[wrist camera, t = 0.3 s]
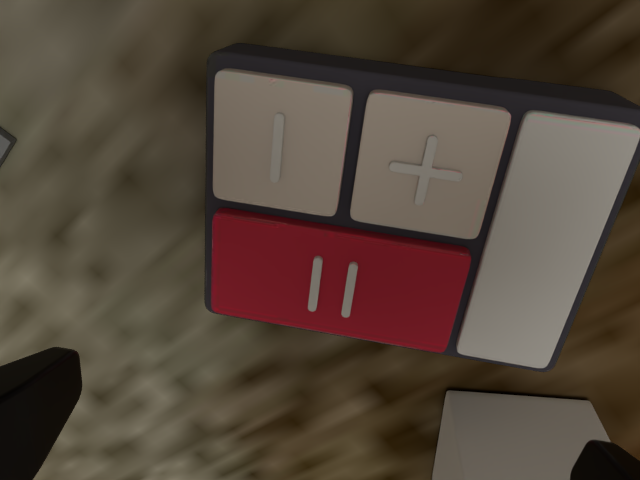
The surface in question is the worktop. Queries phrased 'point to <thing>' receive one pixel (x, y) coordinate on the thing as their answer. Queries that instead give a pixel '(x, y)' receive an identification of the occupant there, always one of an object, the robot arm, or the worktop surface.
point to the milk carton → (512, 436)
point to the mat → (5, 144)
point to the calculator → (409, 201)
